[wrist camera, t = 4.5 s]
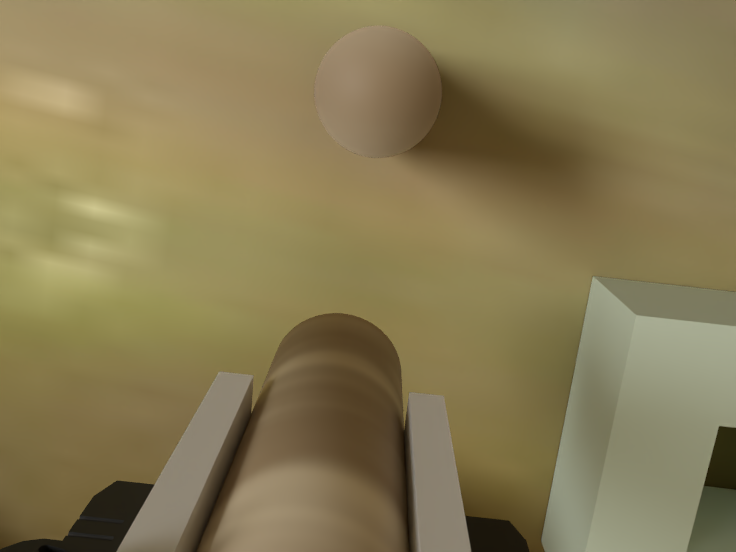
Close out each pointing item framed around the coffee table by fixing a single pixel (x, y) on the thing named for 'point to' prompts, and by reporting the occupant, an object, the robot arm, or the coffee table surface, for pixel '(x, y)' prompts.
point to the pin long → (320, 449)
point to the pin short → (378, 91)
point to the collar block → (646, 423)
